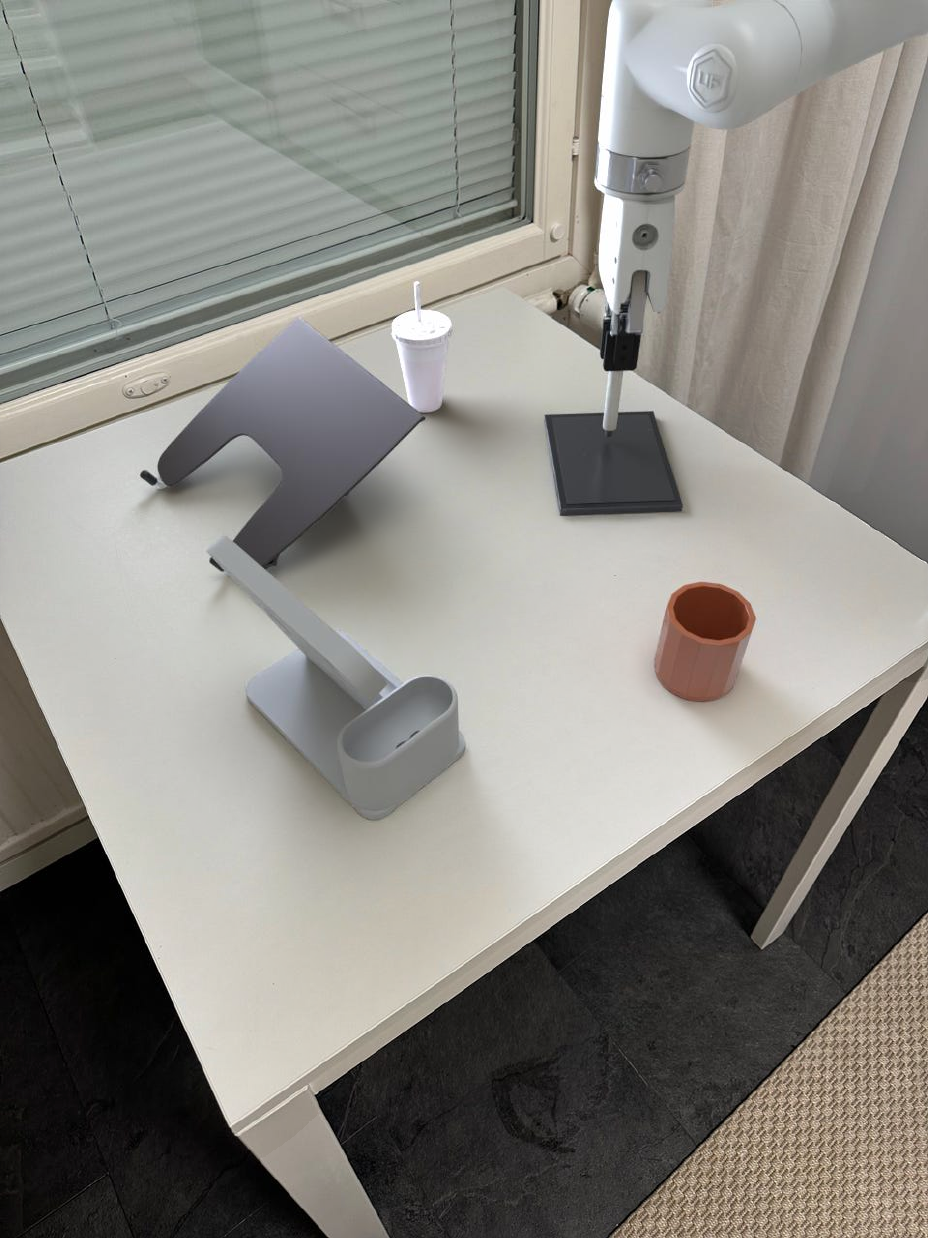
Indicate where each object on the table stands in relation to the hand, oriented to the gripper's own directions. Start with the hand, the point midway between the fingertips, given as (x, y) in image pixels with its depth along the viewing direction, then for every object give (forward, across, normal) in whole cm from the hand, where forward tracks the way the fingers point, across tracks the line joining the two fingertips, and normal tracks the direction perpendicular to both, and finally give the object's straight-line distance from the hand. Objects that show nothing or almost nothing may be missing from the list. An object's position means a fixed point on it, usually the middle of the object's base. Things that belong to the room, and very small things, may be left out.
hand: (617, 362), depth 87 cm
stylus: (+9, 0, 0) cm, 9 cm away
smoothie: (+10, +9, +19) cm, 24 cm away
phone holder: (+10, -35, +25) cm, 44 cm away
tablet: (+10, -3, 0) cm, 11 cm away
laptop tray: (+10, -6, +34) cm, 36 cm away
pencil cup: (+10, -31, -3) cm, 33 cm away
